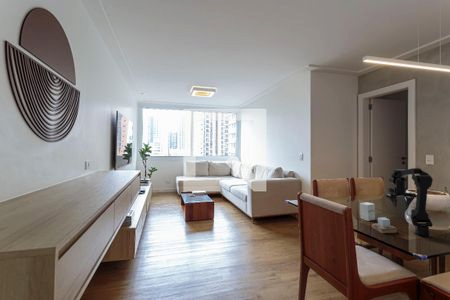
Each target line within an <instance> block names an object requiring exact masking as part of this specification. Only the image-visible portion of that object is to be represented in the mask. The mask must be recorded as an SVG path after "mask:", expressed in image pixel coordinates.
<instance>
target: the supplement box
mask: <svg viewBox="0 0 450 300" xmlns="http://www.w3.org/2000/svg"><path fill="white" fill-rule="evenodd" d="M359 213H360V219H362V220H365V221H368V222H369V221H370V222H371V221H376V205H375V203H372V202H368V201H365V202H360V203H359Z"/></svg>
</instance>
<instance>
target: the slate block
mask: <svg viewBox="0 0 450 300" xmlns="http://www.w3.org/2000/svg"><path fill="white" fill-rule="evenodd" d="M377 223H378V225H380V226H381V227H390V225H391V220H390V218H387V217H386V216H384V217H383V216H382V217H377Z"/></svg>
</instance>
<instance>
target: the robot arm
mask: <svg viewBox="0 0 450 300" xmlns="http://www.w3.org/2000/svg"><path fill="white" fill-rule="evenodd" d="M410 175H411V179H412V180H413V183H414V186H415V187H416V193H414V192H412V191H411V192H407V190H408V188H407V187H406V182H407V181H408V180H407V179H406V177H408V176H410ZM433 179H434V178H433V177H432V176H431V175H430V174H429V173H428V172H426V171H424V170H423V169H421V168H420V167H413V168H409V169H408V168H407V169H405V168H404V169H394V170H393V171H392V174H391V176H390V178H389V179H388V181H389V183H390V184H393V185H395V187H394V188H391V187H390V188H387V192H388V193H386V194H385V198H386V199H388V200H390V202H392V205H393V207H394V208H397V205H398V204H397V203H398V198H405V199H406V201H405V203H406V207H408V208H409V207H410V206H411V204H412V202H413V201H414V199H416V200H415V208H414V209H411V213H410V219H411V223H412V225H413V226H414V227H415V232H413V234H414V235H416V236H419V237H421V238H429V237H430V238H431V237H432V235H431V234H430V228H432V227H433V222H432V220H431V219H430V217H429V214H428V212H427V211H426V209H427V201H428V200H427V198H428V190H429V189H430V188H431V187H432V185H433V181H434V180H433Z"/></svg>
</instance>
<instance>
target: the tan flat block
mask: <svg viewBox="0 0 450 300" xmlns="http://www.w3.org/2000/svg"><path fill="white" fill-rule="evenodd" d="M371 227H372V229H374V230H376V231H377V232H378V233H381V234H393V233H397V232H398V229H397V227H395V226H393V225H391V224H390V227H381V226H380V225H378V222H375V223H372V224H371Z"/></svg>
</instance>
